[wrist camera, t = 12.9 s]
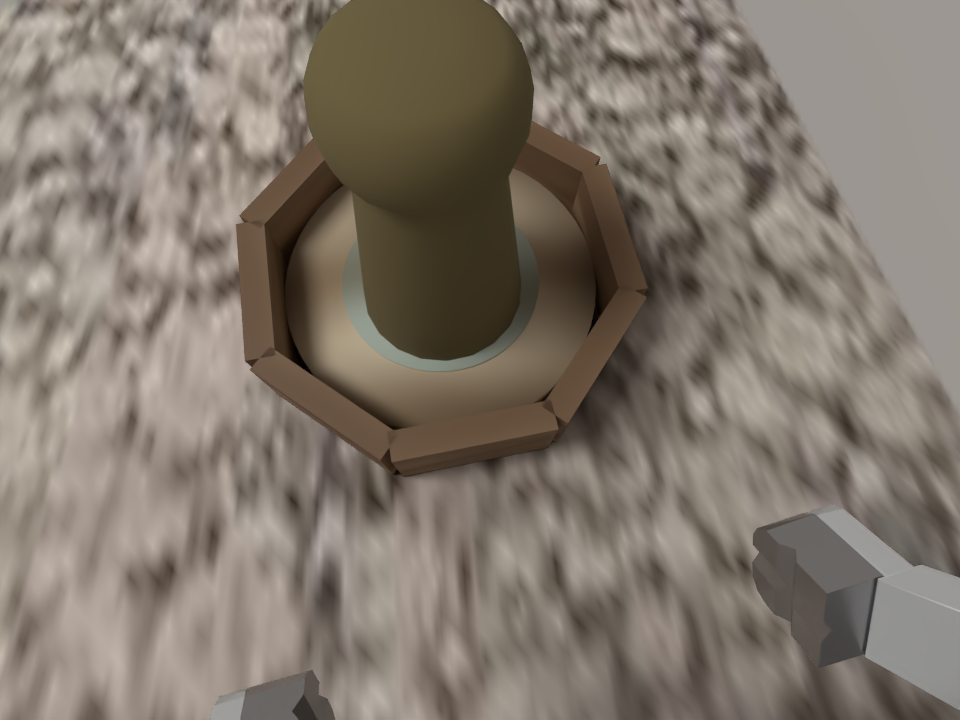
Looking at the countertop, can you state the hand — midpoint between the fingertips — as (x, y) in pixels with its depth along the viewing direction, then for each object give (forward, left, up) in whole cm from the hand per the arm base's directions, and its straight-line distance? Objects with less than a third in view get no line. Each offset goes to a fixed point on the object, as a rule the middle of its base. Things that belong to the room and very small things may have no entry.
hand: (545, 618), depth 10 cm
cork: (+11, 0, -9) cm, 14 cm away
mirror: (+12, 0, -10) cm, 15 cm away
